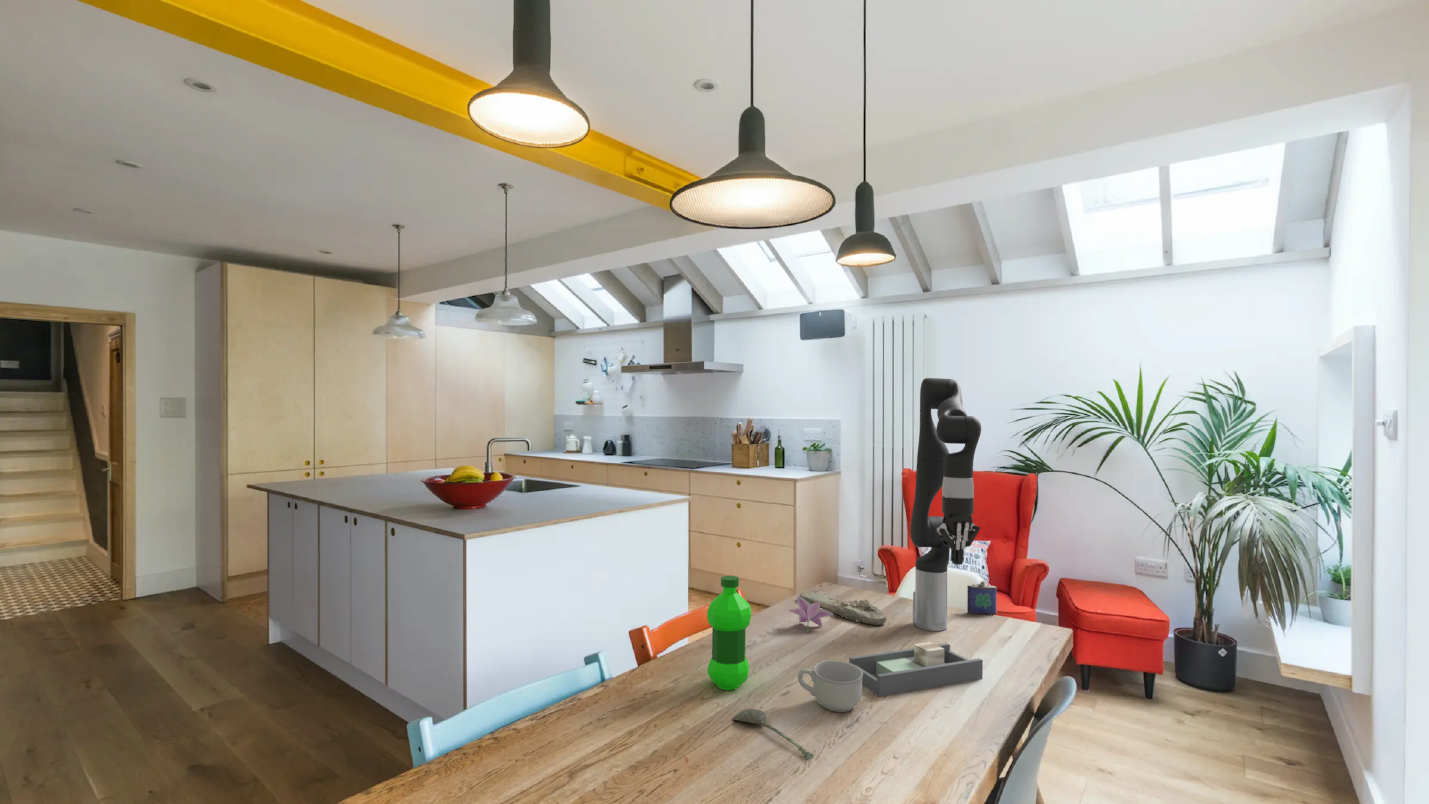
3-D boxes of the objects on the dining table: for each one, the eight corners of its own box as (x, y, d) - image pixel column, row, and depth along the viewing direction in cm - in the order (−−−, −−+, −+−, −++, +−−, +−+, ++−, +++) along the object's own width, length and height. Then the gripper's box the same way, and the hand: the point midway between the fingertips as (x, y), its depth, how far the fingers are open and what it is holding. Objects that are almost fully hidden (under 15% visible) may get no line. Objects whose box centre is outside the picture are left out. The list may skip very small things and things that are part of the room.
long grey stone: (812, 601, 229) (792, 607, 223) (811, 586, 230) (791, 592, 224) (894, 622, 202) (874, 630, 196) (893, 604, 202) (872, 612, 196)
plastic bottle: (759, 685, 154) (760, 577, 154) (729, 698, 146) (731, 585, 146) (727, 673, 160) (728, 570, 161) (697, 685, 153) (698, 577, 153)
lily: (838, 636, 192) (837, 603, 196) (813, 628, 185) (813, 593, 190) (805, 639, 199) (805, 607, 204) (780, 631, 192) (781, 598, 197)
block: (914, 660, 163) (914, 644, 163) (930, 658, 165) (930, 641, 165) (927, 667, 158) (927, 651, 158) (944, 665, 160) (944, 648, 160)
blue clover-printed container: (994, 612, 214) (995, 579, 214) (998, 615, 211) (998, 582, 211) (966, 612, 215) (966, 579, 215) (969, 614, 212) (969, 581, 212)
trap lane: (848, 675, 160) (849, 657, 160) (946, 660, 171) (946, 643, 171) (879, 696, 148) (880, 676, 149) (982, 678, 160) (982, 660, 160)
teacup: (865, 700, 147) (865, 663, 147) (859, 721, 136) (859, 682, 137) (803, 690, 151) (803, 655, 151) (793, 710, 141) (794, 672, 141)
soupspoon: (752, 715, 141) (727, 724, 137) (751, 699, 141) (726, 707, 137) (823, 756, 122) (796, 768, 119) (822, 738, 123) (795, 749, 119)
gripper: (967, 492, 171) (966, 559, 171) (926, 494, 166) (925, 562, 166) (989, 496, 164) (988, 565, 164) (947, 497, 159) (946, 569, 159)
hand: (957, 563), depth 165 cm, fingers closed
